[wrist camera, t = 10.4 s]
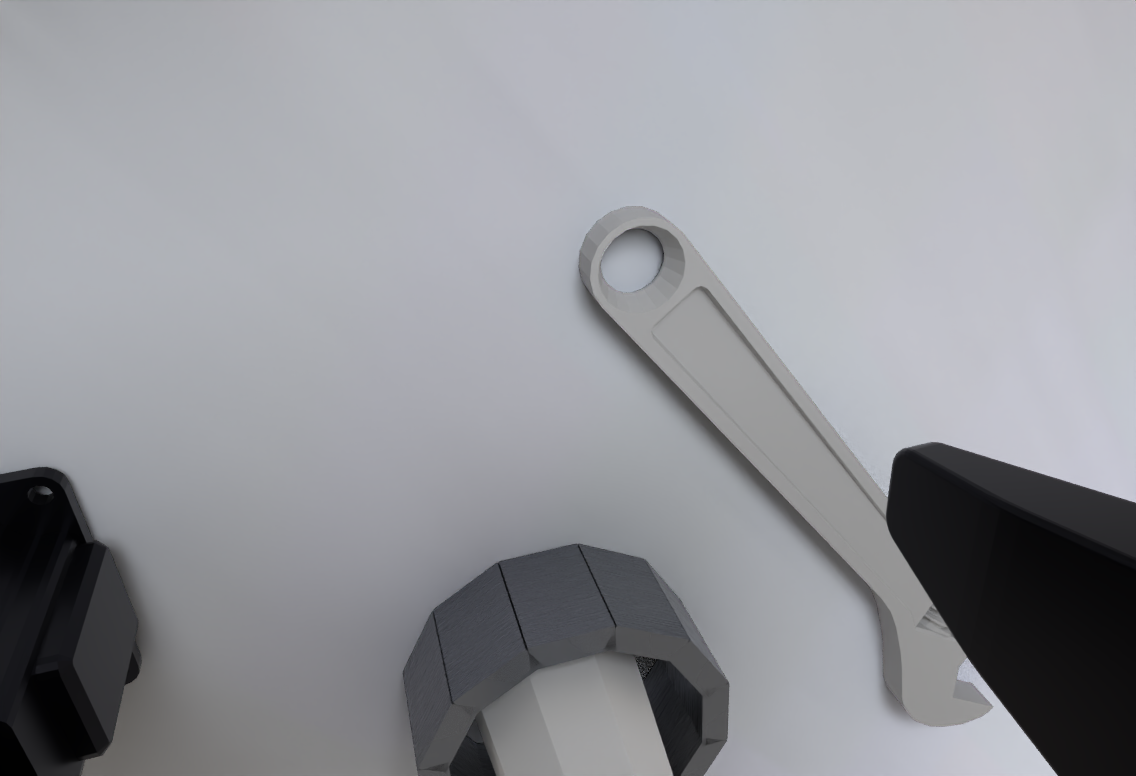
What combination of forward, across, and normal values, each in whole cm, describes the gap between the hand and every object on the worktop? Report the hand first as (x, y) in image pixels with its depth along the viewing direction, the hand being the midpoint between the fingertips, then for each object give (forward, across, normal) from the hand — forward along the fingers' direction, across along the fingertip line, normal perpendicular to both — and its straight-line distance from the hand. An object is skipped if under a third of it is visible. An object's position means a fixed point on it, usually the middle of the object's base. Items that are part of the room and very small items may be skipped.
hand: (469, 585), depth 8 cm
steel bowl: (+13, -3, +15) cm, 20 cm away
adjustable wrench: (+14, -13, +11) cm, 22 cm away
